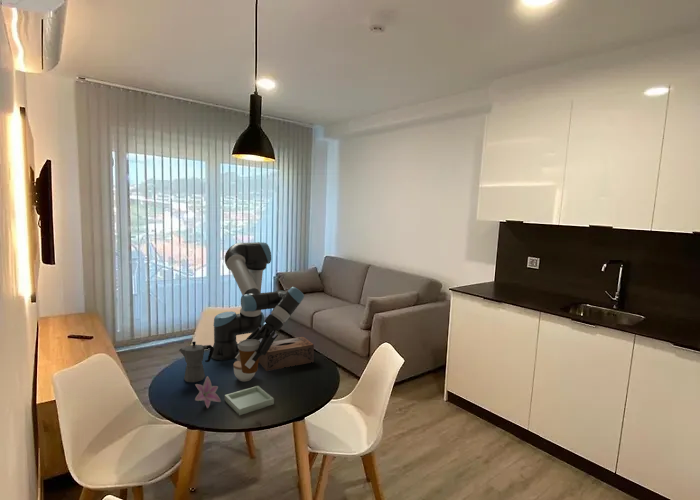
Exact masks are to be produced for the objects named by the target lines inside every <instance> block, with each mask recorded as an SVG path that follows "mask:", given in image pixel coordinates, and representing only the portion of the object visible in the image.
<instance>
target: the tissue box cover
mask: <svg viewBox="0 0 700 500" xmlns="http://www.w3.org/2000/svg"><path fill="white" fill-rule="evenodd" d="M314 349H315V346H314V343H313V342H311V341H310V340H309V339H307V337H304V336H301V337H299V336H298V337H293V338H285V339H279V340H274V341H273V343H272V345H271V346H270V348H269V350H268V351H267V353H266V355H261V356H260V357H259V362H258V364H260V365H261V367H262V368H263V369H264V370H265V371H266V372H269V370H270V371H274V369H275V370H280V369H285V368H284V367H286V368H290V366H291V367H294V366H295V365H296V366H300V365H306V364H311V362H312V363H314V354H315V353H314V351H315V350H314ZM279 368H280V369H279Z"/></svg>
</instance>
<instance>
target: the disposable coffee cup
mask: <svg viewBox="0 0 700 500" xmlns="http://www.w3.org/2000/svg"><path fill="white" fill-rule="evenodd" d="M246 339H247V338H246ZM246 339H243V340H240V341H239V342H238V349H239V354H240V360H241V367H242V372H243V373H246V374H251V373H255V372H256V373H257V372H258V369H259V358H258V359H257V361H256V362H255V363H254V364H253V366H252V367H251V368H250V369H249V368H248V367H247V366H245V364H246V362H247V361H248V360H249V359H250V357H251V356H252V355H253V353H254V352H256V350H258V348H259V345H260V343H261V340H256V339H247V340H246ZM256 373H255V374H256Z"/></svg>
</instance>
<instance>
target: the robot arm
mask: <svg viewBox="0 0 700 500" xmlns="http://www.w3.org/2000/svg"><path fill="white" fill-rule="evenodd" d="M271 262H272V251H271V248H270V246H269V244H268V243H267V242H264V241H263V242H260V241H257V242H237V243H234V244H232V245H231V246H230V247H228V249H227V250H226V252H225V255H224V263H225V266H226V269H228V270H229V271H230V272H231V274H232V276H233V278H234V280H235V282H236V284H237V286H238V289H239V291H240V293H241V294H242V296H241V298H240V305H241V308H240V310H239V313H236V312H235V311H224V312H221V313H218V314H217V315H215V316H214V318H213V345H212V347H213V348H214V351H213V354H212V357H211V359H212V360H217V361H228V360H232V359H236V361H241V360H240V354H239V349H238V345H239V343H238V341H237V336H240V335H247V334H249V335H248V337H246V339H245V340H247V339H256V340H259V341H260V345H259V348H258V350H256V352H254V353H253V355H252V356H251V357H250V359H249V360H248V361H247V362H246V364H245V366H247V367H248V368H249V369H250V368H251V367H252V366H253V364H254V363H255V362H256V361H257V359H258V358H259V357H260V356H261V355H266V353H267V351H268V350H269V348H270V346H271V345H272V343H273V341H276V339H277V338H278V336H279V335H278V333H277V332H278V331H281V329H282V328H283V326H284V324H286V322H287V321H288V319H289V318H290V317H291V315H293V314H294V312H295V310H296V309H297V308H298V307H299V305H300V304H301V303H302V301H303V300H304V299H305V295H304V293H303V292H302V291H301V290H300V289H299V288H297V287H295V286H292V287H290V288H289V289H287V291H285V290H281V289H278V290H274V291H268V292H262V283H263V275H264V274H263V273H264V270H266V269H267V265H269V264H271ZM263 310H272V311H271V312H270V314H268V316H267V317H266V318H265V314H264V312H263Z"/></svg>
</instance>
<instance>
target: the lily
mask: <svg viewBox="0 0 700 500" xmlns="http://www.w3.org/2000/svg"><path fill="white" fill-rule="evenodd" d="M204 379H205V380H204V382H203V384H200V383H199V384H198V383H196V384H194V385H195V387H196V388H197V390H198V394H197V395H196V396H195V398H194V401H197V402H201V401H202V402H204V404H205V406H206V409H209V407H210V405H211V402H217V403H221V402H222V400H221V398H220V397H219V395H218V394H217V393H216V392H217V391H218V388H219V386H217V385H212V381H211V379H210V377H209V376H208V375H207V376H205V378H204Z"/></svg>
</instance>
